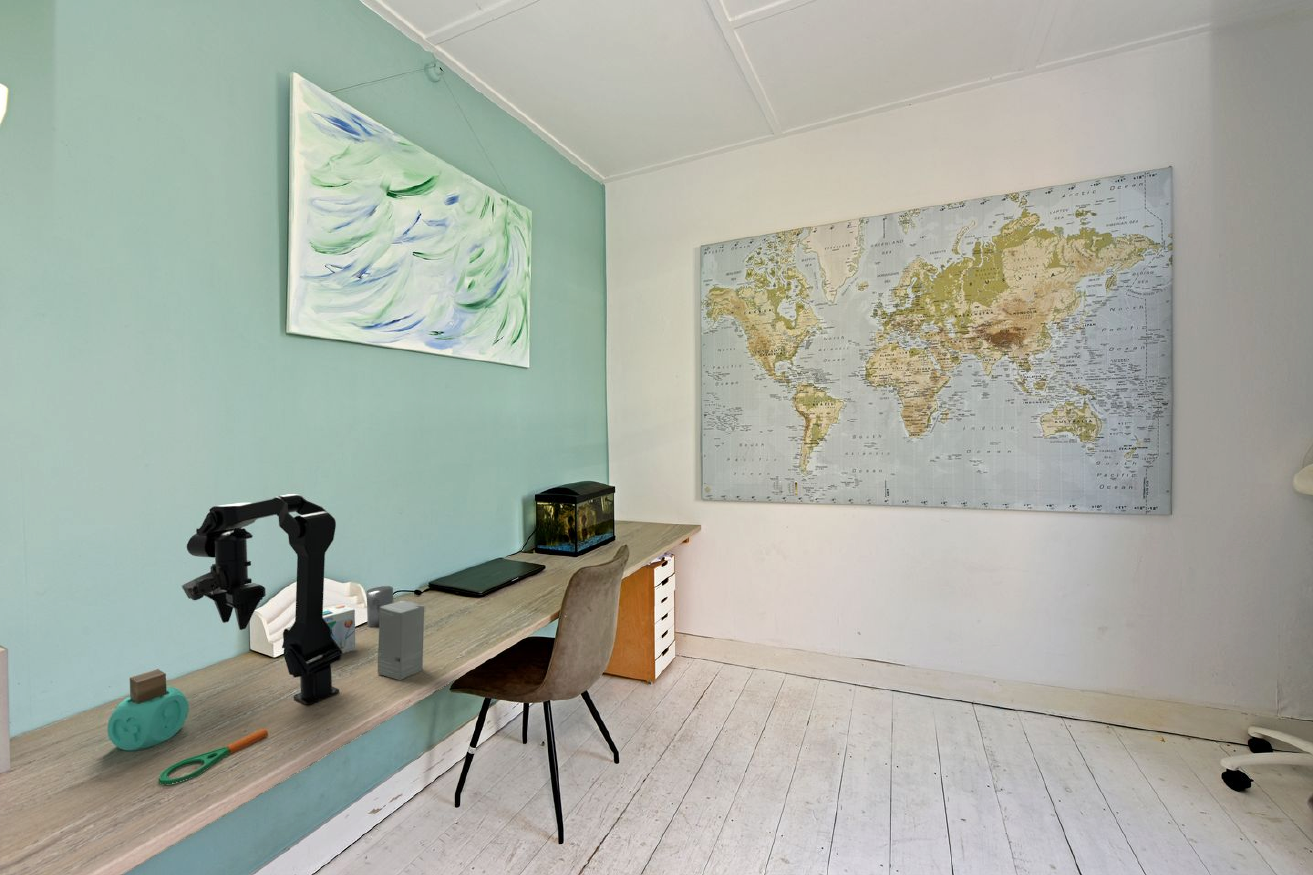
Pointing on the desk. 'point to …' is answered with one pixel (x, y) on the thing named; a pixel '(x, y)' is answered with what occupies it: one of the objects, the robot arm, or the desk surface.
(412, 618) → the skincare box
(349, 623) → the light bulb box
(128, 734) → the decorative dice
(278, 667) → the desk surface
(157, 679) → the walnut cube
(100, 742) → the desk surface
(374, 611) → the grey rounded block
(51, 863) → the desk surface
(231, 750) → the magnifying glass
